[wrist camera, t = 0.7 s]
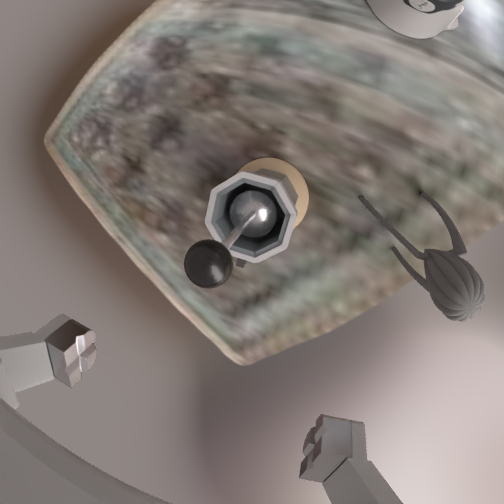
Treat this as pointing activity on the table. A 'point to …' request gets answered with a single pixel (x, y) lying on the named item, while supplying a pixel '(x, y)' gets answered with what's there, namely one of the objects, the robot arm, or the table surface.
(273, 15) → the table surface
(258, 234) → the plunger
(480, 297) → the citrus juicer
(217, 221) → the grey octagonal cup
